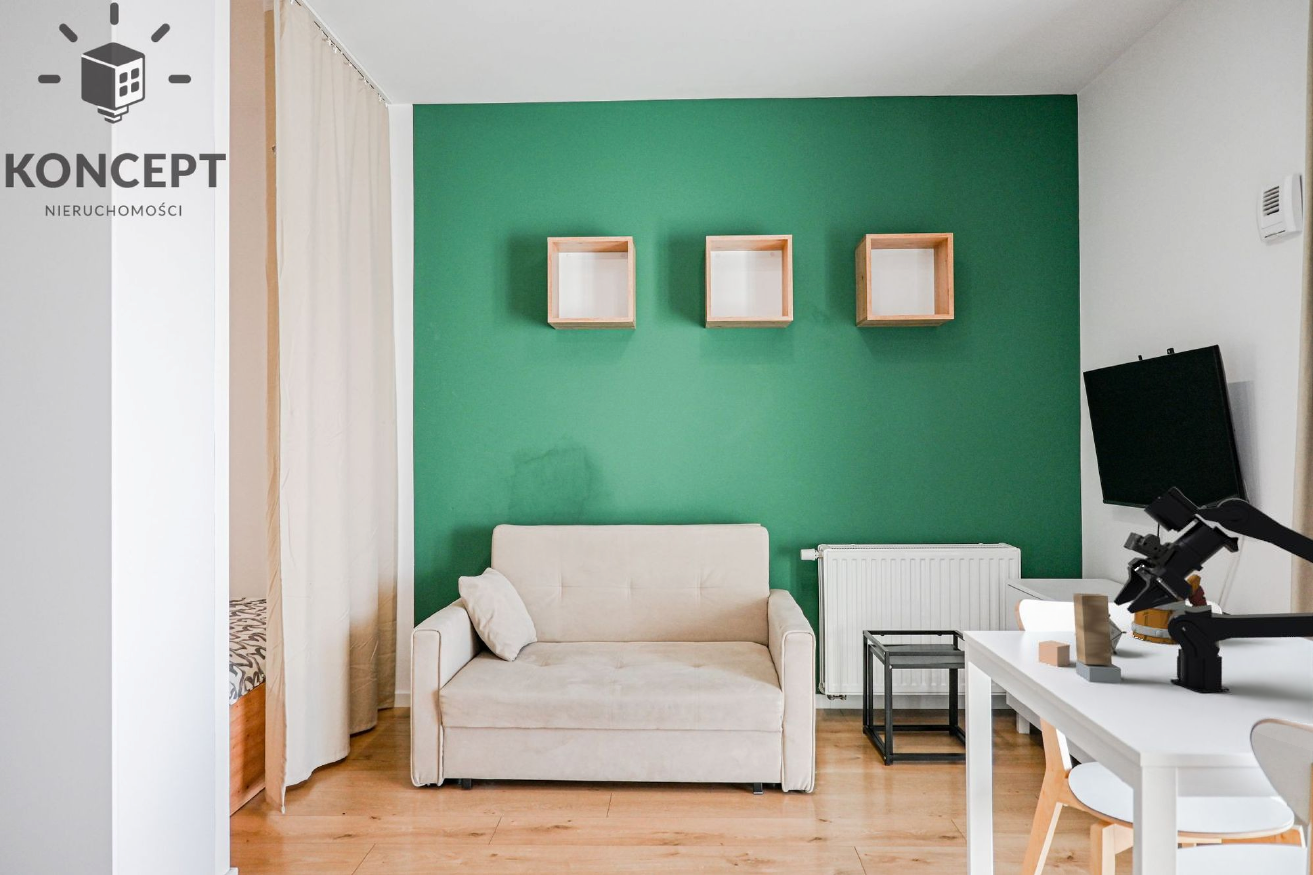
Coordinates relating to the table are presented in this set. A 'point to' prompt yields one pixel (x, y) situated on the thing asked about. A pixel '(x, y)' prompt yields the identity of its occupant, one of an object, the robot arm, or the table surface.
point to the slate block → (1099, 672)
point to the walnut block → (1092, 629)
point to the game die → (1114, 635)
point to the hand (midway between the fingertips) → (1122, 607)
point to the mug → (1165, 615)
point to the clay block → (1054, 653)
